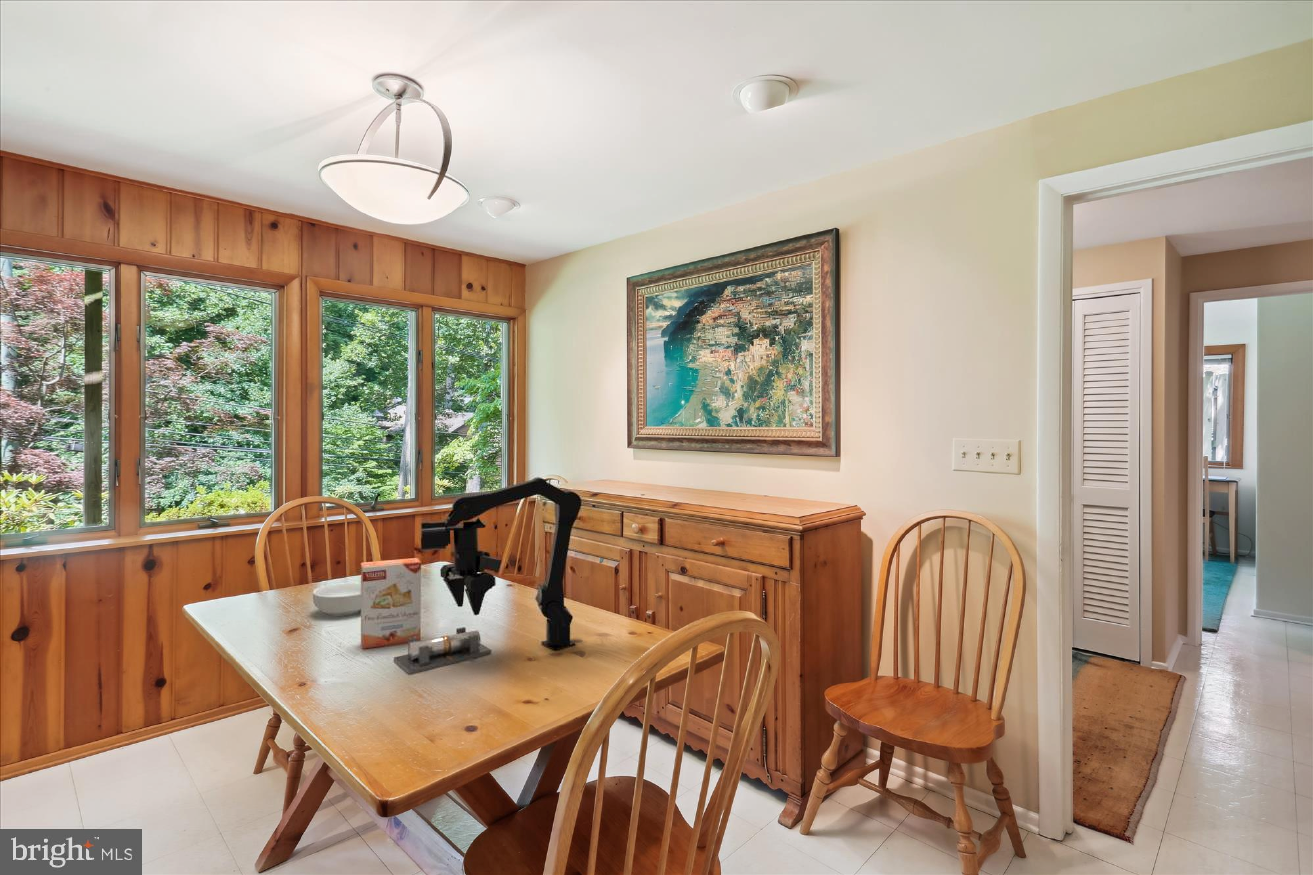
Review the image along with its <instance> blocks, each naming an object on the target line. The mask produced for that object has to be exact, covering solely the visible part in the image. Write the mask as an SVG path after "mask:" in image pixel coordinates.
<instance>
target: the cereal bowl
mask: <svg viewBox="0 0 1313 875" xmlns="http://www.w3.org/2000/svg"><path fill="white" fill-rule="evenodd" d="M312 601H313V605H314V606H315V607H316V609H318V610H319V611H320V612H323V613H327V614H329V615H330V616H333V617H345V616H350V615H354V614H357V613H359V611H361V582H356V581H355V582H341V583H340V582H339V583H332V584H327V585H323V586H319V587H318V588H317V587H316V588H315V589H314V590H313V591H312Z"/></svg>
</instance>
